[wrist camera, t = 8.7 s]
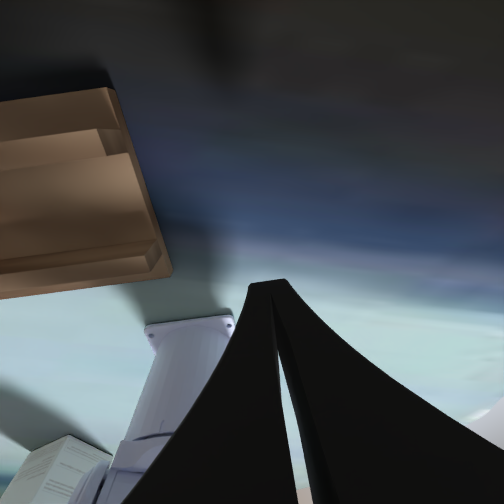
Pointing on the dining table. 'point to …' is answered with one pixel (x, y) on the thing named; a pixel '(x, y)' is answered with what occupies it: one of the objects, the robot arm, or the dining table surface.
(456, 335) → the dining table surface
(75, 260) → the brown wooden tray
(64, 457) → the supplement box
